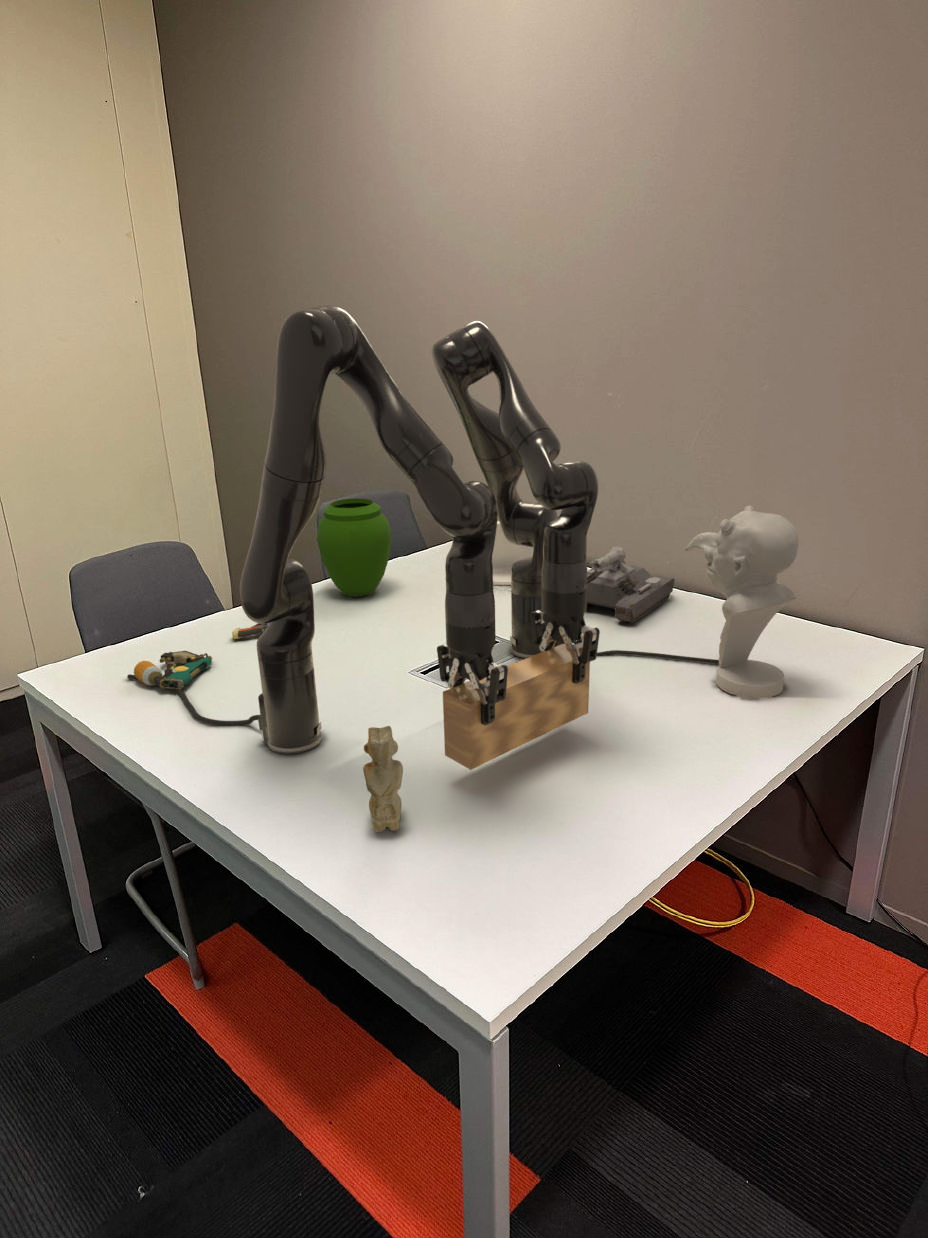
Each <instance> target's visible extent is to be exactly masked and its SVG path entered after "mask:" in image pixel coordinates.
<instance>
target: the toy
mask: <svg viewBox="0 0 928 1238" xmlns="http://www.w3.org/2000/svg"><path fill="white" fill-rule="evenodd" d="M626 557H627V556H626V551H625V549H624V548H622V547H621V546H614V547H612V548H611V549H610V550H609V552H608V553H607V554H605V555H604V556H601V557H599V558H598V559H597V557H596V558H594V559H593V560H592V561H590V562H589V563H590V564H591V565H592V567H591V568H590V569H589V570H587V605H592V606H598V607H602V608H603V607H604V608H609V609H613V610H614V618H615V619H617V620H618V621H621V622H626V623H631V624H634V623H635V622H637V621H638V620H640V619H641V618H642V617H644V616H645V615H647V614H648V613H650V612H651V611H652V610H654V609H655V608H657V607H659V606H660V605H661V604H663V603H664V602H666V601H667V600H669V598H670V596H671V594H672V593H673V591H674V585H675V580H676V579H675V578H673V577H668V576H663V575H656V576H655V577H654V576H651V574H650V573H649V572H648V571H647V570H646V568H644V567H641V566H635V565H629V564H628V563H627V562H626V561H625V559H626Z"/></svg>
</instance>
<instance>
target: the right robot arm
mask: <svg viewBox="0 0 928 1238" xmlns="http://www.w3.org/2000/svg"><path fill="white" fill-rule="evenodd" d="M431 357H432V361H433V364H434V367H435V370H436V371H437V373H438V375H439V378H440V380H441V382H442V384H443V385H444V388H445V390H446V392H447V394H448V395H449V397H450V399H451V402H452V403H453V405H454V407H455V410H456V411H457V414H458V416H459V418H460V420H461V423H462V425H463V428H464V431H465V433H466V435H467V438H468V441H469V443H470V447H471V449H472V452H473V454H474V456H475V459H476V461H477V464H478V466H479V468H480V470H481V472H482V474H483V476H484V479H485V482H486V485H487V486H488V487H489V488H490V489H491V490H492V492H493V493H494V495H495V498H496V502H497V508H498V521H499V522H500V525H501V528H502V531H503V534H504V536H505V538H506V539H507V540H508V541H509V542H510V543H512V544H515V545H520V546H528V547H534V549H533V556H532V557H530V558H526V559H522V560H519V561H516V562H515V563H513V565H512V567H511V585H510V588H511V589H510V597H511V599H510V603H511V604H510V606H511V607H510V609H511V610H510V615H511V617H510V618H511V621H510V622H511V635H510V636H509V642H510V644H511V647H510V651H511V653H512V655H513V656H515V657H518V658H521V659H526V658H529V657H531V656H534V655H536V654H539V653H541V652H544V651H546V650H549V649H551V648H554V647H556V646H559V645H561V644H565V646H566V649H567V651H568V652H570V653H571V656H572V659H573V662H574V663H573V667H572V682H573V683H575V684H578V683H580V682H582V681H583V680H584V679H585V671H586V664H587V663H588V662H590V663H591V662H593V661H595V660H597V657H602V656H603V657H604V656H609V655H625V656H626V655H627V656H639V657H652V658H659V659H660V658H662V659H671V660H676V661H677V660H678V661H687V662H698V663H706V664H717V665H719V659H713V658H703V657H695V656H686V655H685V656H684V655H677V654H676V655H675V654H667V653H656V652H646V651H636V650H618V649H615V650H614V649H612V650H606V651H605V650H604V651H599V652H598V648H599V641H600V633H601V632H600V629H599V628H598V627H594V628H592V627H590V626H587V625H586V621H585V614H586V611H587V608H588V604H587V574H588V563H587V550H588V549H587V548H588V547H587V545H588V543H587V541H588V538H587V537H588V533H589V532H588V531H589V529H590V525H591V523H592V518H593V515H594V513H595V512H594V511H595V509H596V508H595V507H596V505H597V501H598V496H599V479H598V474H597V473H596V471H595V469H594V467H593V466H592V465H591V464H590V463H588V462H587V461H583V460H577V461H576V460H575V461H570V462H564V463H559V464H556V463H555V462H554V461H555V460H556V459H557V458H558V456H559V455H560V453H561V449H562V446H561V441H560V440H559V437H558V436H557V435H556V433H555V432H554V431H553V429H552V428H551V427H550V425H549V424H548V422H547V421H546V420H545V419H544V417H543V416H542V415H541V414H540V412H539V411H538V409H537V407H536V406H535V405H534V403H533V401H532V400H531V398H530V396H529V395H528V393H527V391H526V389H525V387H524V386H523V384H522V381H521V380H520V378H519V376H518V374H517V373H516V370H515V369H514V366H512V363H511V362H510V360H509V358H508V357H507V355H506V352H505V351H504V349H503V348H502V346H501V345H500V343H499V341H498V340H497V338H496V336H495V334H494V333H493V332H492V331H491V329H490V328H489V327H488V326H487V325H486V324H485V323H483V321H479V320H474V321H471V322H469V323H467V324H466V325H463V326H462V327H460V328H458V329H456V330H455V331H453V332H451V333H449V334H448V335H446V336H444V337H442V338H441V339H439V340H438V341H437V342H435V343H434V344H433V345H432V347H431ZM492 374H494V376H495V378H496V380H497V383H498V391H499V402H498V403H499V404H498V405H499V407H498V412H497V411H495V410H494V409H491V408H489V407H488V406H486V405H484V404H483V403H481V402H480V401H479V400H477V399H476V398H474V397H473V396H472V395H471V394H470V392H469V388H470V387H471V386H472V385H474V384H476V383H478V382H479V381H481V380H483V379H484V378H486V377H488V376H490V375H492ZM523 471H524V473H525V476H526V478H527V482H528V484H529V488H530V491H531V493H532V496H533V498H534V500H535V502H531V501H524V500H523V499H521V497H520V495H519V493H518V490H517V485H518V483H519V480H520V479H521V476H522V474H523ZM560 510H561V511H560ZM558 511H560V513H559V515H558ZM577 649H578V651H579V654H580V655H578V652H577Z"/></svg>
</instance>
